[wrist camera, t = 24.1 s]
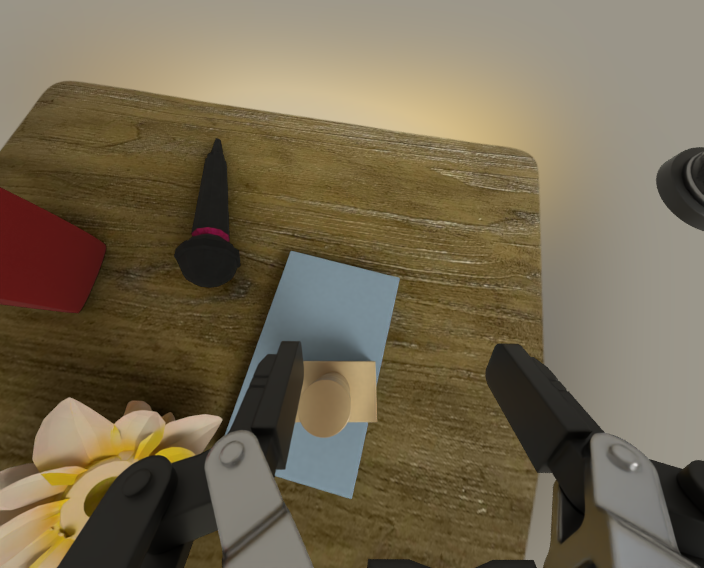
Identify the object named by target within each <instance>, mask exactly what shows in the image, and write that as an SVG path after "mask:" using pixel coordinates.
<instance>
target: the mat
mask: <svg viewBox="0 0 704 568" xmlns="http://www.w3.org/2000/svg"><path fill="white" fill-rule="evenodd" d="M399 279H400V278H398V277H394V276H390V275H386V274H382V273H378V272H374V271H370V270H366V269H362V268H358V267H354V266H350V265H346V264H342V263H338V262H334V261H330V260H326V259H322V258H318V257H314V256H310V255H306V254H302V253H298V252H294V251H291V252H290V254H289V257H288V260H287V263H286V266H285V268H284V271H283V274H282V277H281V280H280V282H279V285H278V288H277V291H276V293H275V296H274V299H273V302H272V305H271V307H270V310H269V313H268V316H267V319H266V321H265V324H264V327H263V330H262V333H261V335H260V338H259V341H258V344H257V346H256V349H255V352H254V355H253V358H252V360H251V363H250V366H249V369H248V372H247V374H246V377H245V380H244V383H243V386H242V388H241V391H240V394H239V397H238V399H237V402H236V405H235V408H234V411H233V413H232V416H231V419H230V422H229V425H228V427H227V430H226V433H225V435H226V434H227V433H228V432H229V430H230V428H231V426H232V424H233V422H234V420H235V417H236V415H237V413H238V410H239V408H240V405H241V403H242V401H243V398H244V396H245V394H246V391H247V389H248V388H249V384H250V382H251V380H252V378H253V375H254V373H255V370H256V368H257V366H258V364H259V363H260V361H261V360H262V359H263V358H264V357H265V356H266V355H267V354H277V352H278V349H279V346H280V343H281V342H282V341H301V345H302V354H303V361H375V362H376V385H377V380H378V376H379V371H380V366H381V362H382V357H383V353H384V348H385V343H386V339H387V334H388V330H389V325H390V320H391V316H392V311H393V307H394V302H395V297H396V293H397V288H398V284H399ZM367 426H368V422H348V423H347V424H346V426H345V427H344V428H343V429H342V430H341V431H340V432H339V433H338V434H336V435H334V436H332V437H328V438H320V437H316V436H313V435H311V434H310V433H308V432H307V431H306V430H305V429H304V427H303V426H302V424H301V422H295V425H294V430H293V434H292V439H291V444H290V449H289V454H288V459H287V464H286V469H285V470H276V473H275V476H277V477H281V478H284V479H287V480H290V481H294V482H297V483H300V484H304V485H307V486H310V487H313V488H317V489H320V490H323V491H327V492H330V493H333V494H337V495H340V496H343V497H346V498H350V499H351V498H352V495H353V490H354V486H355V481H356V476H357V472H358V467H359V463H360V458H361V454H362V449H363V444H364V440H365V435H366V431H367Z"/></svg>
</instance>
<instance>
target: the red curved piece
mask: <svg viewBox="0 0 704 568" xmlns="http://www.w3.org/2000/svg"><path fill="white" fill-rule="evenodd" d="M105 252H106V245H105V244H104V243H103V242H101V241H100V240H98V239H97V238H95V237H94V236H92V235H90V234H89V233H87V232H85V231H84V230H82V229H80V228H78V227H76V226H75V225H73V224H71V223H69V222H67V221H65V220H63V219H62V218H60V217H58V216H56V215H54V214H52V213H50V212H48V211H46V210H44V209H42V208H40V207H39V206H37V205H35V204H33V203H31V202H29V201H27V200H25V199H23V198H21V197H19V196H17V195H15V194H13V193H11V192H9V191H7V190H5V189H3V188H1V187H0V304H3V305H10V306H18V307H26V308H34V309H43V310H51V311H59V312H69V313H79V312H80V311H81V309H82V308H83V306H84V304H85V302H86V300H87V298H88V296H89V294H90V292H91V289H92V287H93V285H94V282H95V280H96V278H97V275H98V272H99V270H100V267H101V264H102V262H103V259H104V255H105Z"/></svg>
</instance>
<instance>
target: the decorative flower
mask: <svg viewBox="0 0 704 568" xmlns="http://www.w3.org/2000/svg"><path fill="white" fill-rule="evenodd" d="M221 422H222V419H221V418H220V417H219V416H213V415H207V414H203V415H196V416H189V417H186V418H183V419H179V420H176V421H175V418H174V415H173V414H172V413H171V412H169V413H167V414H165V415H164V416H162V417H161V416H160V415H159V414H158V413H157V412H154V411H152V410H151V408H150V405H148V404H147V403H146V402H144V401H131V402H129V403H128V404H127V407H126V410H125V413H124V415H123V417H122V418H120V419H119V420H118V421H117V422H116V423H115V424H113V423H111V422H110V421H109V420H107V419H106V418H104V417H103V416H101V415H100V414H98V413H97V412H95V411H94V410H92V409H91V408H89V407H87V406H85V405H84V404H82V403H80V402H79V401H77V400H75V399H72V398H70V397H69V398H67V399H65V400H63V401H62V402H60V403H59V404H58V405H57V406H56V407H55V408H54V409H53V410H52V411H51V412H50V413H49V414H48V415H47V416H46V417H45V418H44V420H43V422H42V424H41V426H40V428H39V430H38V433H37V435H36V437H35V443H34V451H33V459H32V460H33V462H34V463H32V464H24V465H20V466H16V467H12V468H8V469H5V470H3V471H1V472H0V568H57V567H58V565H59V564H60V562H61V561H62V559H63V558H64V556H65V554H66V553H67V551H68V550H69V548H70V547H71V545H72V544H73V542H74V541H75V539H76V538H77V536H78V535H79V533H80V532H81V530H82V528H83V527H84V525H85V524H86V522H87V521H88V519H89V518H90V516H91V515H92V513H93V512H94V510H95V509H96V507H97V506H98V504H99V503H100V501H101V499H102V498H103V496H104V495H105V493H106V492H107V490H108V489H109V487H110V486H111V484H112V483H113V482H114V480H115V479H116V478H117V477H118V476H119V475H120V474H121V473H122V472H123V471H124V470H125V469H127V468H128V467H129V466H130V465H132V464H133V463H135V462H137V461H139V460H140V459H143V458H145V457H148V456H153V455H161V456H164V457H166V458H167V459H168V460H169V461H170V462H171V463H173V462H176V461H179V460H182V459H185V458H188V457H191V456H195V455H198V454H201V453H202V452H203V450H204V449H205V447H206V446H207V444H208V443H209V441H210V440H211V438H212V437H213V435H214V434H215V432H216V431H217V429H218V427H219V425H220V424H221Z"/></svg>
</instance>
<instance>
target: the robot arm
mask: <svg viewBox="0 0 704 568" xmlns="http://www.w3.org/2000/svg"><path fill="white" fill-rule="evenodd" d="M682 177H683V181H684V184H685V186H686V188H687V190H688V191H689V193H690V194H691V195H692V196H693V197H694V198H695V199H696V200H697V201H698V202H699V203H700V204H701V205H703V206H704V152H701V153H699V154H697V155H696V156H694V157H692V158H690V159H689V160H688V161H687V162H686V163H685V165H684V167H683V171H682ZM303 380H304V363H303V354H302V345H301V341H282V342H281V343H280V346H279V349H278V352H277V354H267V355H266V356H265V357H264V358H263V359H262V360H261V361H260V363H259V364H258V366H257V368H256V370H255V373H254V375H253V378H252V380H251V382H250V384H249V388H248V389H247V391H246V394H245V396H244V398H243V401H242V403H241V405H240V408H239V410H238V413H237V415H236V417H235V420H234V422H233V424H232V426H231V428H230V430H229V432H228V433H227V434H226V435H225V436H223V437H222V438H221V439H219V440H218V441H217V442H216V443H215V444H214V446H213V447H212V448H211V449H209V450H207V451H206V452H203V453H201V454H198V455H195V456H191V457H188V458H185V459H182V460H179V461H176V462H173V463H171V462H170V461H169V460H168V459H167V458H166V457H164V456H161V455H153V456H148V457H145V458H143V459H140V460H139V461H137V462H135V463H133V464H132V465H130V466H129V467H128V468H127V469H125V470H124V471H123V472H122V473H121V474H120V475H119V476H118V477H117V478H116V479H115V480H114V482H113V483H112V484H111V486H110V487H109V489H108V490H107V492H106V493H105V495H104V496H103V498H102V499H101V501H100V503H99V504H98V506H97V507H96V509H95V510H94V512H93V513H92V515H91V516H90V518H89V519H88V521H87V522H86V524H85V525H84V527H83V528H82V530H81V532H80V533H79V535H78V536H77V538H76V539H75V541H74V542H73V544H72V545H71V547H70V548H69V550H68V551H67V553H66V554H65V556H64V558H63V559H62V561H61V562H60V564H59V565H58V567H57V568H184V566H185V563H186V560H187V558H188V555H189V552H190V549H191V546H192V543H193V541H194V540H195V539H197V538H199V537H202V536H204V535H207V534H209V533H212V532H214V531H216V530H218V532H219V536H220V541H221V545H222V551H223V558H222V568H314V567H313V565H312V562H311V560H310V558H309V555H308V553H307V550H306V548H305V546H304V543H303V541H302V539H301V536H300V534H299V532H298V529H297V527H296V525H295V522H294V520H293V518H292V516H291V513H290V511H289V509H288V508H287V506H286V505H285V503H284V501H283V499H282V496H281V494H280V492H279V489H278V487H277V484H276V482H275V480H274V477H275V473H276V470H285V469H286V464H287V459H288V454H289V449H290V444H291V439H292V434H293V430H294V425H295V420H296V415H297V410H298V405H299V400H300V395H301V390H302V386H303ZM486 381H487V384H488V386H489V388H490V390H491V391H492V393H493V395H494V397H495V398H496V400H497V402H498V404H499V406H500V407H501V409H502V411H503V413H504V414H505V416H506V418H507V420H508V422H509V423H510V425H511V427H512V429H513V430H514V432H515V434H516V436H517V438H518V439H519V441H520V443H521V445H522V446H523V448H524V450H525V452H526V453H527V455H528V457H529V459H530V461H531V462H532V464H533V466H534V468H535V469H536V471H537V473H553V475H554V477H555V478H556V481H555V483H554V486H553V502H552V524H551V543H550V549H549V552H548V555H547V557H546V560H545V562H544V566H543V568H704V461H701V460H696V461H693V462H691V463H690V464H689V465H687V466H686V467H685V468H684V469H681V468H677V467H674V466H670V465H667V464H664V463H660V462H657V461H654V460H650V459H648V458H647V457H646V456H645V455H644V454H643V453H642V452H641V451H640V450H638V449H637V448H636V447H634V446H633V445H631V444H630V443H628V442H627V441H625V440H623V439H621V438H619V437H616V436H614V435H611V434H607V433H605V432H604V431H603V430H602V429H601V428H600V427H599V426H598V425H597V423H596V422H595V421H594V420H593V419H592V418H591V417H590V415H589V414H588V413H587V412H586V411H585V410H584V409H583V407H582V406H581V405H580V404H579V403H578V402H577V401H576V399H574V397H573V396H572V395H571V394H570V393H569V392H567V391H566V388H565V387H564V386H563V385H562V384H561V382H559V381H558V379H557V378H556V377H555V375H554V374H553V373H552V372H551V371H550V370H549V369H548V367H546V366H545V365H544V364H542V363H541V362H539V361H538V360H537V359H535V358H534V357H530V356H529V355H528V353H527V352H526V351H525V350H524V349H523V347H522V346H521V345H519V344H497V345H496V346H495V348H494V350H493V353H492V355H491V358H490V361H489V363H488V366H487V368H486ZM367 568H430V567H428V566H425V565H422V564H420V563H417V562H414V561H412V560H407V559H368V565H367ZM476 568H537V567H536V565H535V563H534V560H492V561H489V562H487V563H485V564H482V565H480V566H478V567H476Z"/></svg>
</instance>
